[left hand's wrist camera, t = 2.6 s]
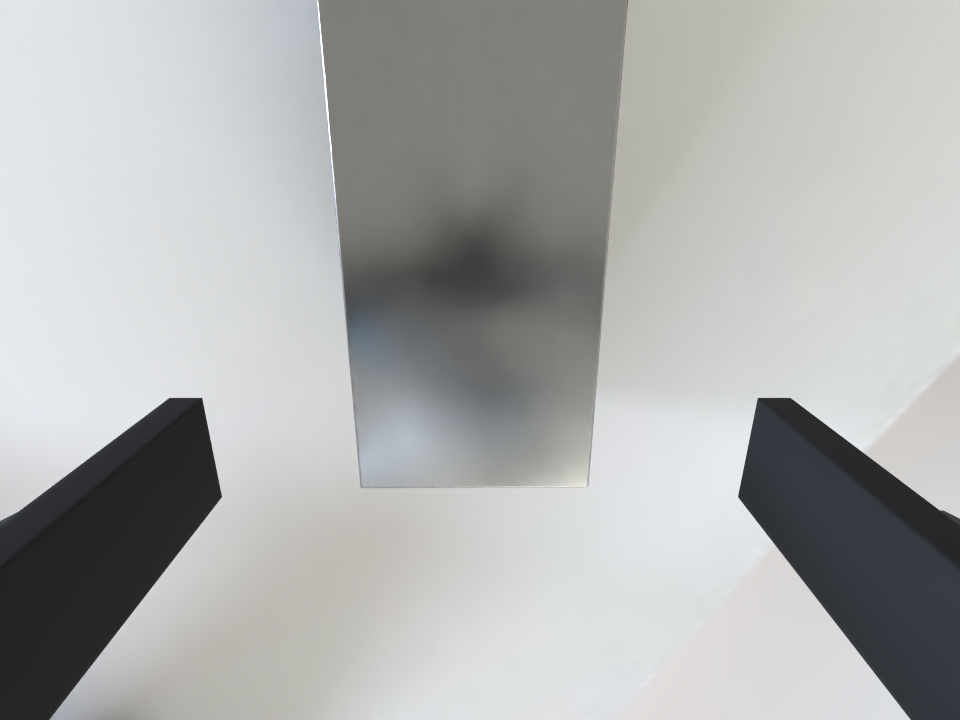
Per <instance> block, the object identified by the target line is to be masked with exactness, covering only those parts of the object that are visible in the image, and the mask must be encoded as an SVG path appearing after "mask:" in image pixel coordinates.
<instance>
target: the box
mask: <svg viewBox="0 0 960 720" xmlns="http://www.w3.org/2000/svg"><path fill="white" fill-rule="evenodd" d="M317 6H318V17H319V29H320V40H321V51H322V62H323V73H324V84H325V95H326V106H327V118H328V129H329V140H330V151H331V162H332V173H333V184H334V196H335V207H336V218H337V229H338V240H339V251H340V262H341V274H342V285H343V296H344V307H345V318H346V329H347V340H348V352H349V363H350V374H351V385H352V396H353V407H354V418H355V430H356V441H357V452H358V463H359V474H360V485H361V488H476V487H588V483H589V471H590V458H591V446H592V434H593V422H594V410H595V397H596V385H597V373H598V361H599V348H600V336H601V324H602V312H603V299H604V287H605V275H606V263H607V250H608V238H609V226H610V214H611V202H612V189H613V177H614V165H615V153H616V140H617V128H618V116H619V104H620V91H621V79H622V67H623V55H624V43H625V30H626V18H627V6H628V0H317Z"/></svg>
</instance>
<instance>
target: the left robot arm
mask: <svg viewBox="0 0 960 720" xmlns="http://www.w3.org/2000/svg"><path fill="white" fill-rule="evenodd" d="M221 497H222V495H221V490H220V485H219V480H218V475H217V470H216V465H215V460H214V455H213V450H212V445H211V440H210V435H209V430H208V425H207V420H206V415H205V410H204V405H203V400H202V398H169V399H168V400H166V401H165V402H164V403H162V404H161V405H160V406H158V407H157V408H156V409H154V410H153V411H152V412H150V413H149V414H148V415H146V416H145V417H144V418H142V419H141V420H140V421H138V422H137V423H136V424H134V425H133V426H132V427H131V428H129V429H128V430H127V431H125V432H124V433H123V434H121V435H120V436H119V437H117V438H116V439H115V440H113V441H112V442H111V443H109V444H108V445H107V446H105V447H104V448H103V449H101V450H100V451H99V452H97V453H96V454H95V455H93V456H92V457H91V458H89V459H88V460H87V461H85V462H84V463H83V464H81V465H80V466H79V467H77V468H76V469H75V470H73V471H72V472H71V473H69V474H68V475H67V476H65V477H64V478H63V479H61V480H60V481H59V482H58V483H56V484H55V485H54V486H52V487H51V488H50V489H48V490H47V491H46V492H44V493H43V494H42V495H40V496H39V497H38V498H36V499H35V500H34V501H32V502H31V503H30V504H28V505H27V506H26V507H24V508H23V509H22V510H20V511H19V512H18V513H15V514H13V515H11V516H9V517H7V518H5V519H3V520H1V521H0V720H49V719H50V718H51V717H52V715H53V714H54V713H55V712H56V710H57V709H58V708H59V706H60V705H61V704H62V703H63V701H64V700H65V699H66V697H67V696H68V695H69V693H70V692H71V691H72V690H73V688H74V687H75V686H76V684H77V683H78V682H79V681H80V679H81V678H82V677H83V675H84V674H85V673H86V672H87V670H88V669H89V668H90V666H91V665H92V664H93V663H94V661H95V660H96V659H97V657H98V656H99V655H100V654H101V652H102V651H103V650H104V648H105V647H106V646H107V644H108V643H109V642H110V641H111V639H112V638H113V637H114V635H115V634H116V633H117V632H118V630H119V629H120V628H121V626H122V625H123V624H124V623H125V621H126V620H127V619H128V617H129V616H130V615H131V614H132V612H133V611H134V610H135V608H136V607H137V606H138V605H139V603H140V602H141V601H142V599H143V598H144V597H145V595H146V594H147V593H148V592H149V590H150V589H151V588H152V586H153V585H154V584H155V583H156V581H157V580H158V579H159V577H160V576H161V575H162V574H163V572H164V571H165V570H166V568H167V567H168V566H169V565H170V563H171V562H172V561H173V559H174V558H175V557H176V556H177V554H178V553H179V552H180V550H181V549H182V548H183V546H184V545H185V544H186V543H187V541H188V540H189V539H190V537H191V536H192V535H193V534H194V532H195V531H196V530H197V528H198V527H199V526H200V525H201V523H202V522H203V521H204V519H205V518H206V517H207V516H208V514H209V513H210V512H211V510H212V509H213V508H214V507H215V505H216V504H217V503H218V501H219V500H220V499H221ZM738 497H739V499H740V500H741V501H742V503H743V504H744V505H745V507H746V508H747V509H748V510H749V512H750V513H751V514H752V516H753V517H754V518H755V519H756V521H757V522H758V523H759V525H760V526H761V527H762V528H763V530H764V531H765V532H766V534H767V535H768V536H769V537H770V539H771V540H772V541H773V543H774V544H775V545H776V546H777V548H778V549H779V550H780V552H781V553H782V554H783V556H784V557H785V558H786V559H787V561H788V562H789V563H790V564H791V566H792V567H793V568H794V570H795V571H796V572H797V574H798V575H799V576H800V577H801V579H802V580H803V581H804V583H805V584H806V585H807V586H808V588H809V589H810V590H811V592H812V593H813V594H814V595H815V597H816V598H817V599H818V601H819V602H820V603H821V605H822V606H823V607H824V608H825V610H826V611H827V612H828V614H829V615H830V616H831V617H832V619H833V620H834V621H835V623H836V624H837V625H838V626H839V628H840V629H841V630H842V632H843V633H844V634H845V635H846V637H847V638H848V639H849V641H850V642H851V643H852V644H853V646H854V647H855V648H856V650H857V651H858V652H859V653H860V655H861V656H862V657H863V659H864V660H865V661H866V663H867V664H868V665H869V666H870V668H871V669H872V670H873V672H874V673H875V674H876V675H877V677H878V678H879V679H880V681H881V682H882V683H883V684H884V686H885V687H886V688H887V690H888V691H889V692H890V693H891V695H892V696H893V697H894V699H895V700H896V701H897V703H898V704H899V705H900V706H901V708H902V709H903V710H904V711H905V713H906V714H907V715H908V717H909V718H910V719H911V720H960V519H959V518H957V517H955V516H953V515H951V514H949V513H947V512H945V511H940V510H938V509H937V508H936V507H934V506H933V505H932V504H930V503H929V502H928V501H926V500H925V499H924V498H922V497H921V496H920V495H918V494H917V493H916V492H914V491H913V490H912V489H910V488H909V487H908V486H906V485H905V484H904V483H902V482H901V481H900V480H899V479H897V478H896V477H895V476H893V475H892V474H891V473H889V472H888V471H887V470H885V469H884V468H883V467H881V466H880V465H879V464H877V463H876V462H875V461H873V460H872V459H871V458H869V457H868V456H867V455H865V454H864V453H863V452H861V451H860V450H859V449H857V448H856V447H855V446H853V445H852V444H851V443H849V442H848V441H847V440H845V439H844V438H843V437H841V436H840V435H839V434H837V433H836V432H835V431H833V430H832V429H831V428H829V427H828V426H827V425H826V424H824V423H823V422H822V421H820V420H819V419H818V418H816V417H815V416H814V415H812V414H811V413H810V412H808V411H807V410H806V409H804V408H803V407H802V406H800V405H799V404H798V403H796V402H795V401H794V400H792V399H791V398H758V400H757V405H756V410H755V415H754V420H753V425H752V430H751V435H750V440H749V445H748V450H747V455H746V460H745V465H744V470H743V475H742V480H741V485H740V490H739V495H738Z"/></svg>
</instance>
